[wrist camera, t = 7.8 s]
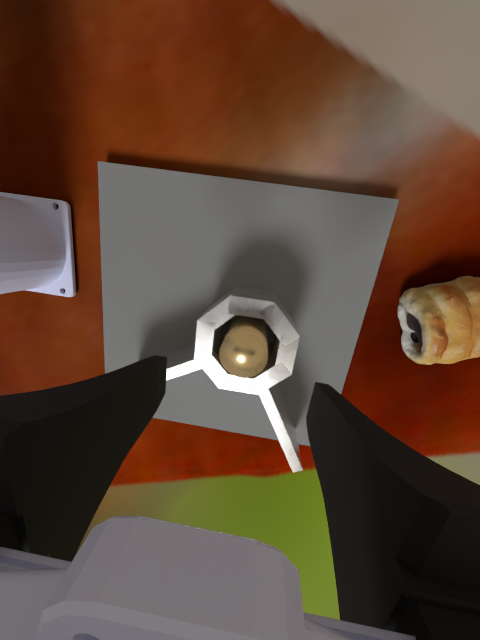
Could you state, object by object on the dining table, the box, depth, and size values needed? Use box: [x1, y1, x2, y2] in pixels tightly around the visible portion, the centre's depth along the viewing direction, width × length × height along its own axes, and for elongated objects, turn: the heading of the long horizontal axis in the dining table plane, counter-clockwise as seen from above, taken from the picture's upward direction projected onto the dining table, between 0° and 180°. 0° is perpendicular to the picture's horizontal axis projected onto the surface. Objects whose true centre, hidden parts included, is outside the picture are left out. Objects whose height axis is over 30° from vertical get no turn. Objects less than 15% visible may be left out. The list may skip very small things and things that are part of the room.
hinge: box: [158, 285, 303, 472], centre depth 19 cm, size 16×13×4 cm
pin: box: [219, 315, 268, 378], centre depth 18 cm, size 3×3×6 cm
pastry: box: [398, 276, 480, 365], centre depth 18 cm, size 9×7×4 cm
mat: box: [98, 161, 399, 446], centre depth 21 cm, size 22×22×1 cm
